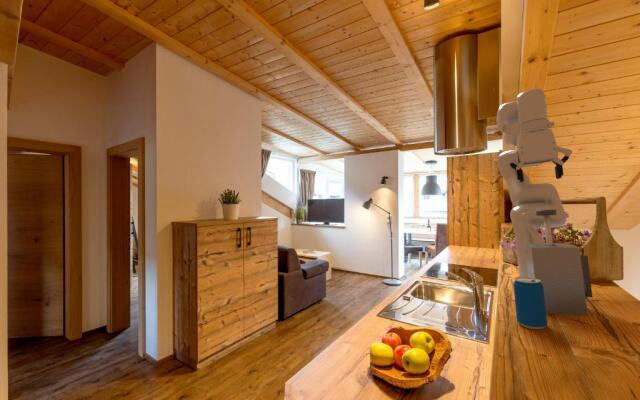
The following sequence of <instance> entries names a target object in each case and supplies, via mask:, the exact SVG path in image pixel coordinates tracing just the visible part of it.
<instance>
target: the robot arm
mask: <svg viewBox="0 0 640 400" xmlns="http://www.w3.org/2000/svg"><path fill="white" fill-rule="evenodd" d="M545 95H546V94H545V92H544V90H543V89H541V88H532V89H528V90H525V91H523V92H520V93H519V94H518V95H517V96H516V100H515V101H511V102H506V103H503V104H501V105H500V106H499V107H498V109H497V112H496V121H495V122H496V126H497V128H498V130H499V131H501V132H502V133H504V136H503V141H504V143H505V144H506V145H508V146H510V147H516V149H512V150H507V151H504V152H502V153H500V154H498V156H497V159H496V164H497V169H498V171H499V173H500V175H501V176H502V178H503V179H504V180H505V182H506V184H507V189H508V193H509V197H510V201H511V203H512V205H514V207H513V208H512V209H511V210H510V213H509V215H510V216H509V217H510V220H511V224H512V228H513V232H514V233H513V234H514V239H515V247H516V255H517V256H516V257H517V258H516V259H517V266H518V267H517V268H518V273H519V274H518V276H519V277H528V270H527V261H526V252H525V243H546V239H545V238H544V236H542V235H541V233H539V232H538V231H537V230H536V229H545V225H544V216H536V210H555V209H556V212H557V215H549V218H550V227H551V229H552V228H561V227H563V226H564V225H565V224H566V222H567V218H566V217H567V215H566V211H565V209H564V206H563V202H562V200H561V198H560V194H559V191H558V189H557V188H556V187H555V185H553V184H552V183H549V182H548V183H546V182H545V183H544V182H543V183H532V181H531V179H530V177H529V176H528V175H527V174H526V173H524V170H523V169H524V168H531V167H532V168H533V167H538V166H541V165H543V164H544V163H550V162H552V163H553V164H554V165H555V167H554V173H555V178H556V179H557V180H560V179H562V178H563V176H564V167H563V165H565V163H566V162H567V161H568V160H569V159H570V157H571V155H572V152H573V150H572V149H568V148H565V147H562V146H558V145H557V141H556V137H555V134H554V131H553V130H552V128H551V127H554V126H555V122H554V121H549V119H548V110H547V109H548V104H547V101H546V96H545ZM559 153H562V154H563V157H562V158H561V159H560V158H559ZM522 168H523V169H522Z"/></svg>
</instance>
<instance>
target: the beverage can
mask: <svg viewBox="0 0 640 400" xmlns="http://www.w3.org/2000/svg"><path fill="white" fill-rule="evenodd" d="M512 285H513V293H514V295H513V296H514V303H515V304H514V305H515V313H516V321H517V323H518V324H519V325H521V326H522V327H524V328H527V329H531V330H542V329H545V327H547V326H548V317H547V313H546V306H545V297H544V288H543V284H542V283H541V280H539V279H536V278H528V277H520V276H519V277H515V278H514V281H513V283H512Z"/></svg>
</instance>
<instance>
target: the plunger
mask: <svg viewBox="0 0 640 400" xmlns="http://www.w3.org/2000/svg"><path fill="white" fill-rule="evenodd" d="M549 215H557V212H556V209H555V210H536V216H544V225H545V228H544V233H545V243H547V246H553V244H552V243H553V236H552V228H551V227H550V218H549Z"/></svg>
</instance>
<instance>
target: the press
mask: <svg viewBox="0 0 640 400" xmlns="http://www.w3.org/2000/svg"><path fill="white" fill-rule="evenodd" d="M552 244H553V246H547V243H546V242H545V243H525V252H526V261H527V270H528V278H536V279H539V280H541V283H542V284H543V288H544V297H545V306H546V314H554V315H555V314H556V315H569V316H581V317H588V315H589V314H588V307H587V299H586V298H593V291H592V290H593V289H592V282H591V281H592V280H591V274H590V266H589V259H588V255H587V254H581V250H580V246H576V245H574V244H571V243H568V242H554V243H553V242H552Z"/></svg>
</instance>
